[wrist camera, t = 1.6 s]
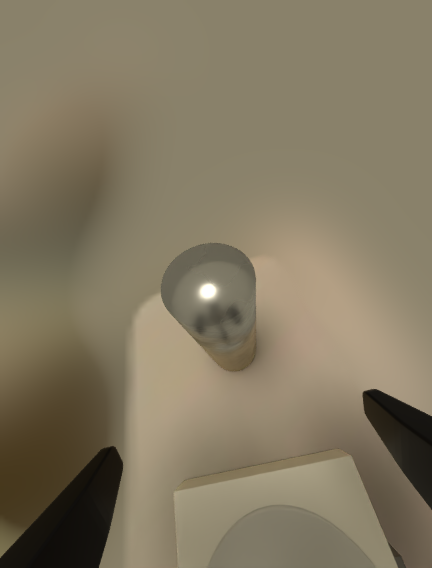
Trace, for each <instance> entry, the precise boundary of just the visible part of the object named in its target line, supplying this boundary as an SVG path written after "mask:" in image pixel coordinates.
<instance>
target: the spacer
mask: <svg viewBox="0 0 432 568" xmlns="http://www.w3.org/2000/svg"><path fill="white" fill-rule="evenodd" d="M161 297H162V300H163V303H164V305H165V307H166V308H167V310H168V311H169V312H170V314H171V315H172V316H173V317H174V318H175V319H176V320H177V321H178V322H179V323H180V324H181V325H182V326H183V328H184V329H185V330H186V331H187V332H188V333H189V334H190V335H191V336H192V337H193V338H194V339H195V340H196V342H197V343H198V344H199V345H200V346H201V347H202V348H203V349H204V350H205V351H206V352H207V353H208V355H209V356H210V357H211V358H212V359H213V360H214V361H215V362H216V363H217V364H218V365H219V366H220V367H221V368H223V369H225V370H227V371H240V370H243V369H245V368H246V367H248V366H249V365H250V364H251V362H252V361H253V359H254V356H255V352H256V277H255V271H254V267H253V265H252V263H251V262H250V260H249V259H248V257H246V255H245V254H244V253H242V252H241V251H240V250H238V249H237V248H234V247H232V246H229V245H226V244H220V243H208V244H202V245H198V246H195V247H192V248H190V249H188V250H186V251H184V252H183V253H181V254H180V255H179V256H178V257H176V258H175V259H174V260H173V261H172V263H171V264H170V265H169V266H168V268H167V270H166V271H165V274H164V276H163V279H162V284H161Z"/></svg>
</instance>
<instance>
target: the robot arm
mask: <svg viewBox="0 0 432 568" xmlns="http://www.w3.org/2000/svg"><path fill="white" fill-rule="evenodd" d="M363 404H364V411H365V414H366V416H367V418H368V420H369V421H370V423H371V424H372V426H373V427H374V429H375V430H376V432H377V433H378V435H379V436H380V438H381V440H382V441H383V443H384V444H385V446H386V447H387V449H388V450H389V452H390V453H391V455H392V456H393V458H394V459H395V461H396V462H397V464H398V465H399V467H400V468H401V470H402V471H403V473H404V474H405V475H406V477H407V478H408V479H409V481H410V482H411V483H412V485H413V486H414V487H415V489H416V490H417V491H418V492H419V494H420V495H421V496H422V498H423V499H424V500H425V502H426V503H427V504H428V505H429V507H430V508H431V509H432V416H430V415H428V414H426V413H424V412H422V411H420V410H418V409H416V408H414V407H412V406H410V405H408V404H406V403H404V402H402V401H400V400H398V399H396V398H394V397H391V396H389V395H387V394H385V393H383V392H381V391H379V390H377V389H371V390H367V391H364V392H363ZM122 471H123V462H122V460H121V457H120V455H119V453H118V451H117V449H116V447H114V446H110V447H106V448H103V449H101V450H100V451H99V452H98V454H97V455H96V456H95V457H94V458H93V459H92V460H91V461H90V462H89V463H88V464H87V465H86V466H85V467H84V469H83V470H82V471H81V472H80V473H79V474H78V475H77V476H76V477H75V478H74V480H73V481H72V482H70V484H69V485H68V486H67V487H66V488H65V489H64V490H63V491H62V492H61V493H60V494H59V495H58V497H57V498H56V499H55V500H54V501H53V502H52V503H51V504H50V505H49V506H48V507H47V508H46V509H45V510H44V512H43V513H42V514H41V515H40V516H39V517H38V518H37V519H36V520H35V521H34V522H33V523H32V524H31V526H30V527H29V528H28V529H27V530H26V531H25V532H24V533H23V534H22V535H21V536H20V537H19V539H17V541H16V542H15V543H14V544H13V545H12V546H11V547H10V548H9V549H8V550H7V551H6V552H5V553H4V554H3V556H2V557H1V558H0V568H99V565H100V562H101V558H102V554H103V551H104V548H105V544H106V541H107V537H108V533H109V530H110V526H111V522H112V518H113V513H114V508H115V504H116V499H117V494H118V490H119V485H120V481H121V476H122Z"/></svg>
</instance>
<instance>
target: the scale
mask: <svg viewBox="0 0 432 568" xmlns="http://www.w3.org/2000/svg"><path fill="white" fill-rule="evenodd" d="M174 506H175V524H176V542H177V560H178V568H406V567H405V564H404V562H403V560H402V557H401V556H400V555H399V554H398V553H397V551H396V550H395V549H394V548H393V547H392V546H391V545H390V544H389V543H388V542H387V540H386V537H385V535H384V533H383V530H382V528H381V525H380V523H379V521H378V518H377V516H376V513H375V511H374V509H373V506H372V504H371V501H370V499H369V497H368V494H367V492H366V489H365V487H364V485H363V482H362V480H361V477H360V475H359V473H358V470H357V468H356V465H355V463H354V461H353V458H352V456H351V455H350V454H348V453H346V452H344V451H342V450H340V449H333V450H328V451H323V452H319V453H314V454H309V455H304V456H299V457H294V458H290V459H285V460H280V461H275V462H270V463H265V464H261V465H256V466H251V467H246V468H241V469H236V470H232V471H227V472H222V473H217V474H212V475H207V476H203V477H198V478H193V479H188V480H184V481H183V483H182V484H181V485H180V486H179V487H178V488H177V489H176V490H175V491H174Z"/></svg>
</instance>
